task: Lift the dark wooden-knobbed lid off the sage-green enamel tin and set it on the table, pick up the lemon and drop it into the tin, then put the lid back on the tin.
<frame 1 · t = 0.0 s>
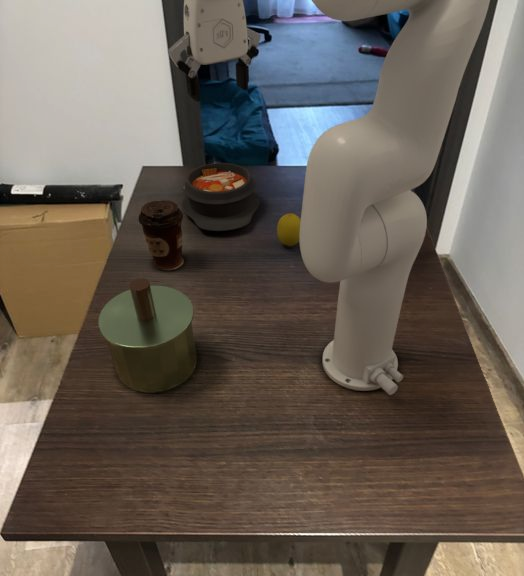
hand: (219, 93, 95), 31 cm above the table, tool pointing down, fingers open, 9 cm apart
tin lid: (146, 317, 83), point 10 cm above the table, touching tin
tin: (157, 363, 91), on the table
coffee cup: (168, 263, 112), on the table
casserole: (221, 210, 127), on the table
lemon: (289, 247, 115), on the table
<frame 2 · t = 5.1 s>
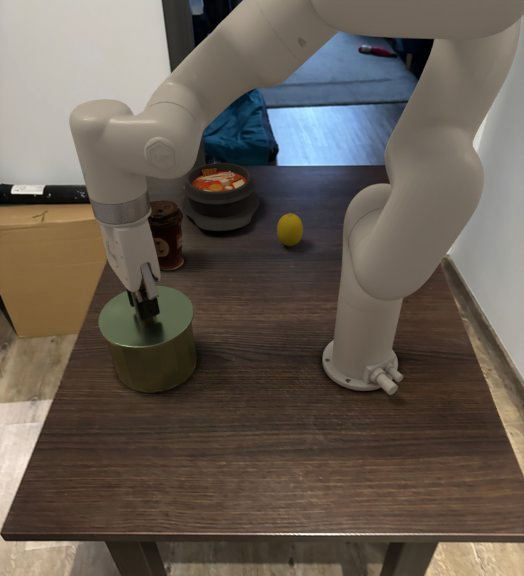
hand: (145, 308, 82), 12 cm above the table, tool pointing down, fingers closed on tin lid, 3 cm apart
tin lid: (146, 317, 83), point 11 cm above the table, touching gripper, tin
everything else where it was.
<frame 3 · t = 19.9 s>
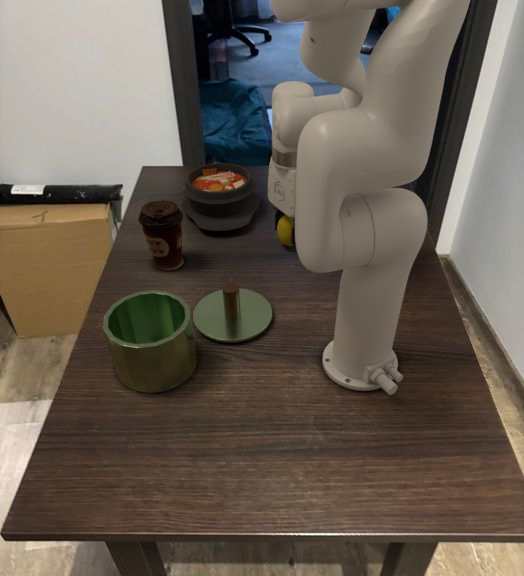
hand: (289, 234, 113), 3 cm above the table, tool pointing down, fingers closed on lemon, 5 cm apart
tin lid: (232, 315, 98), point 1 cm above the table
lemon: (289, 247, 115), on the table, touching gripper
everything else where it was.
when the fingers open (11 cm above the table, at t = 42.1 s): lemon stays where it is, resting on tin.
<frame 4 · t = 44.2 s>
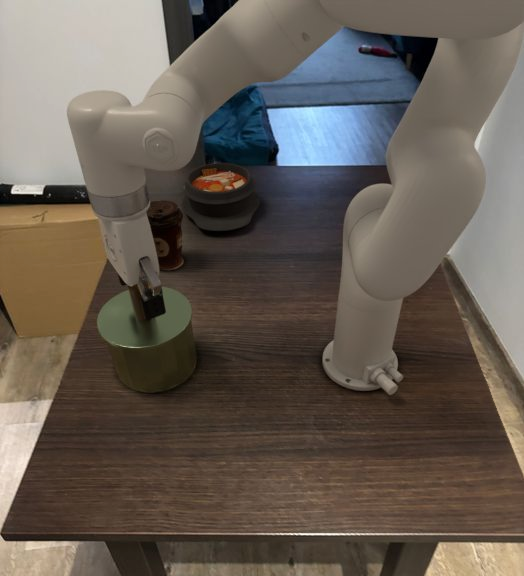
hand: (142, 298, 81), 14 cm above the table, tool pointing down, fingers open, 9 cm apart
tin lid: (145, 317, 83), point 10 cm above the table, touching tin
lemon: (156, 357, 90), point 1 cm above the table, touching tin
everything else where it was.
at the end: lemon inside the target area in the tin (0.1 cm from its centre), point 1.2 cm above the tin's base; tin lid 0.2 cm off-centre on the tin, point 10.5 cm above the tin's base; tin lid tilted 0° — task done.
